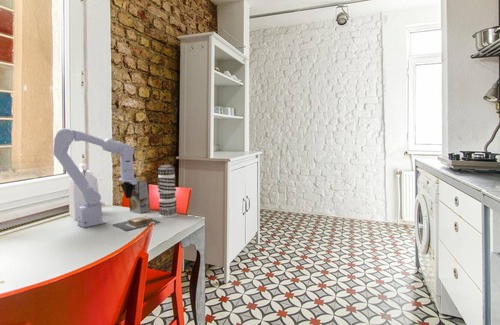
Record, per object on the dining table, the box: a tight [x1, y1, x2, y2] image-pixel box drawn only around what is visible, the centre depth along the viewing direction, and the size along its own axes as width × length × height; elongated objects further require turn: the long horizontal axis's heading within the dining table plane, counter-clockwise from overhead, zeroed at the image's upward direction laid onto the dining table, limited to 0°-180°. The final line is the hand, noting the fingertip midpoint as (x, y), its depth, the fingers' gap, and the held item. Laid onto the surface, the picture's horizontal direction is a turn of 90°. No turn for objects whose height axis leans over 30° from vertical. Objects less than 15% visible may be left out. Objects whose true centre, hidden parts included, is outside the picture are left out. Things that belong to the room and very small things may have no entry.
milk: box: [68, 163, 99, 221], centre depth 147 cm, size 12×12×26 cm
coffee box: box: [128, 179, 151, 214], centre depth 155 cm, size 9×6×16 cm
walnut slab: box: [128, 215, 153, 227], centre depth 131 cm, size 8×2×6 cm
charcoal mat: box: [112, 218, 161, 232], centre depth 132 cm, size 16×13×1 cm
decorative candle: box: [156, 164, 178, 218], centre depth 145 cm, size 9×9×25 cm
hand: (128, 197), depth 141 cm, fingers closed
